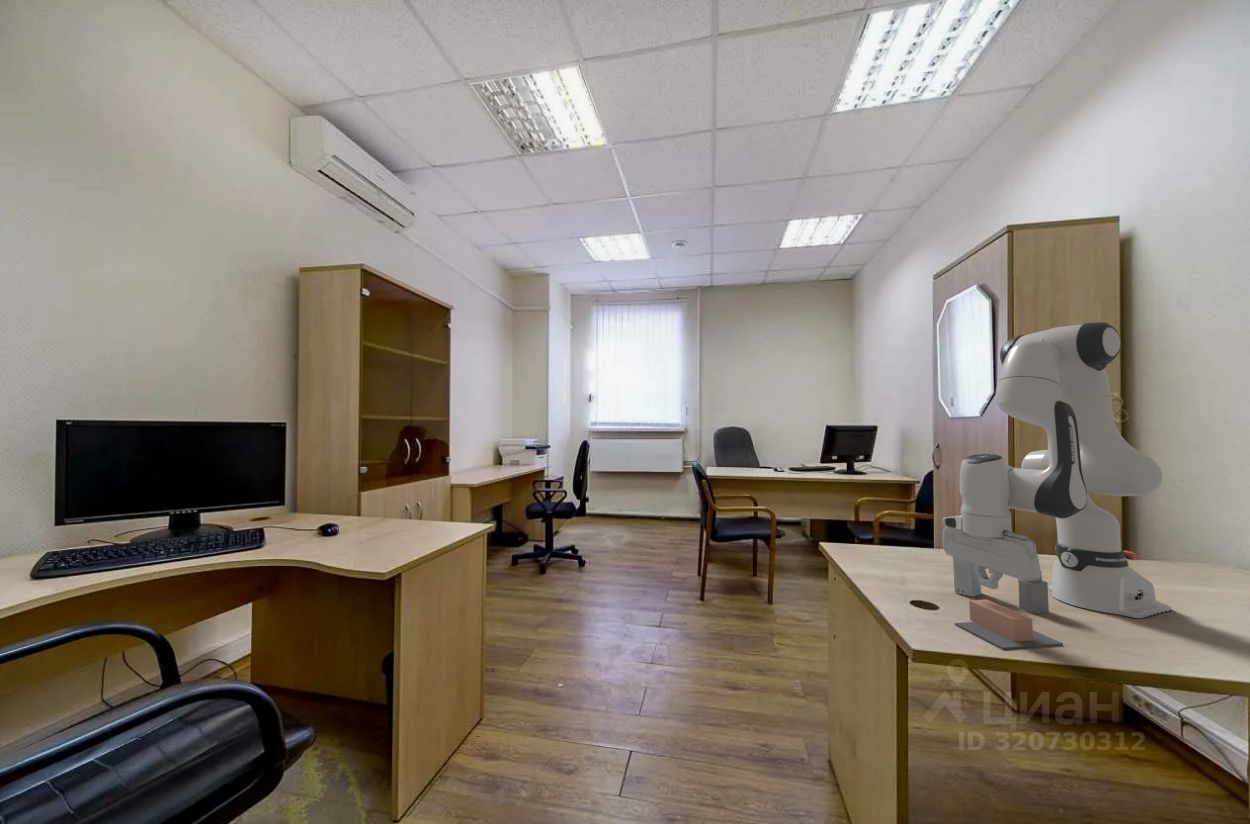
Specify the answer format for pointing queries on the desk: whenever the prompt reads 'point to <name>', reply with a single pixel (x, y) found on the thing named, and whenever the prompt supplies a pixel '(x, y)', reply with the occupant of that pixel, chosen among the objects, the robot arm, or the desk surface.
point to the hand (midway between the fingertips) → (988, 586)
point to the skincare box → (965, 578)
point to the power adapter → (1033, 595)
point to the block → (1001, 620)
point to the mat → (1004, 642)
